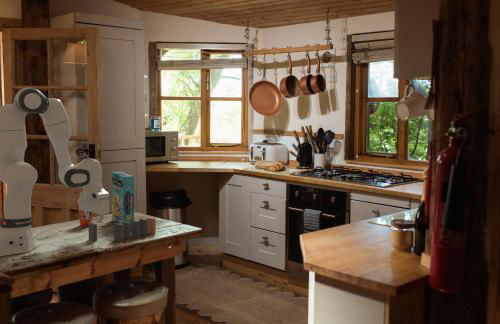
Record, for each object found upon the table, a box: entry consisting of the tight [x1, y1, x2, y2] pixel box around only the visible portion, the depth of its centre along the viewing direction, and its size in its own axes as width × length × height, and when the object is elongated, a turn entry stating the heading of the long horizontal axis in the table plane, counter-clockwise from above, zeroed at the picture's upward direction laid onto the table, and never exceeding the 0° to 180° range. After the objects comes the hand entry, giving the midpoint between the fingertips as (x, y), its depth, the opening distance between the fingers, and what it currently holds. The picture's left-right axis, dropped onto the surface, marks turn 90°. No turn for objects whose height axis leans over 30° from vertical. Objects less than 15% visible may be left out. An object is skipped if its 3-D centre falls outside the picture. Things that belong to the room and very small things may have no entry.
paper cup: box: [77, 200, 93, 228], centre depth 291 cm, size 8×8×14 cm
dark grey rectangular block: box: [88, 222, 98, 242], centre depth 262 cm, size 2×4×8 cm, turn 50°
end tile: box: [147, 216, 157, 235], centre depth 277 cm, size 2×4×8 cm, turn 49°
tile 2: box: [113, 222, 124, 243], centre depth 262 cm, size 2×4×8 cm, turn 49°
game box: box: [111, 171, 135, 224], centre depth 298 cm, size 20×6×27 cm, turn 31°
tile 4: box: [131, 219, 141, 239], centre depth 269 cm, size 2×4×8 cm, turn 49°
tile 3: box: [123, 221, 132, 240], centre depth 266 cm, size 2×4×8 cm, turn 49°
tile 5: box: [138, 218, 149, 237], centre depth 273 cm, size 2×4×8 cm, turn 49°
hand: (94, 221), depth 261 cm, fingers open, 8 cm apart
